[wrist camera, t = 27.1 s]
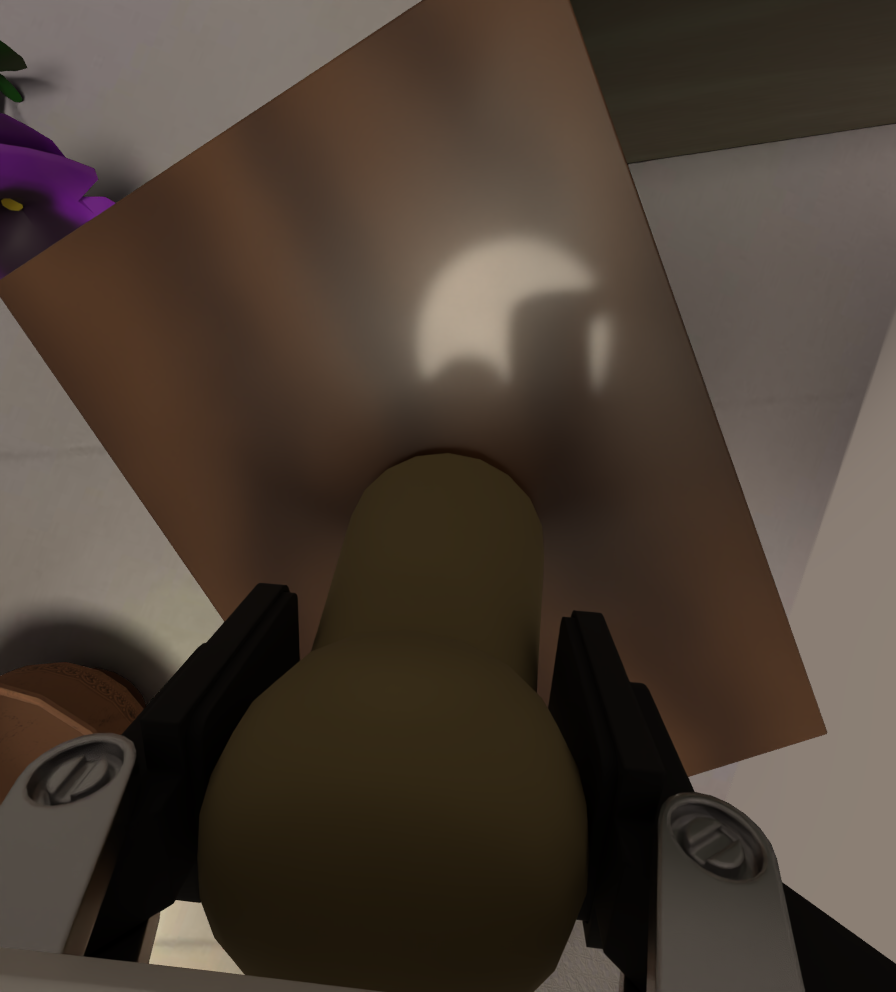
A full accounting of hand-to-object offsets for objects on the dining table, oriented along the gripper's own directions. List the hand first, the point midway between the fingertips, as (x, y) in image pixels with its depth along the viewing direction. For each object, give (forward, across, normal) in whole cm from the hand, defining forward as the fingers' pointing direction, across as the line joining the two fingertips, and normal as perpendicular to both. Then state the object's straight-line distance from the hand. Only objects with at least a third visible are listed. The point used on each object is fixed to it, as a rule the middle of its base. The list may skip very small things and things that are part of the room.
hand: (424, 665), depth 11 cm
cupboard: (+31, 0, 0) cm, 31 cm away
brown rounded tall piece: (+6, 0, 0) cm, 6 cm away
